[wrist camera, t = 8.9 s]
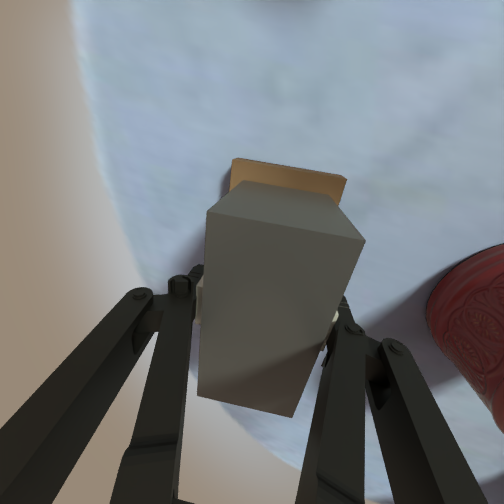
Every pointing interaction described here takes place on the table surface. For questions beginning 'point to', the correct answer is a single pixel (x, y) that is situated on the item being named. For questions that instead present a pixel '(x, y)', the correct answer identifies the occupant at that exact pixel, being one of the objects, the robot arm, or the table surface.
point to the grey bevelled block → (270, 292)
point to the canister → (474, 325)
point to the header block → (287, 177)
